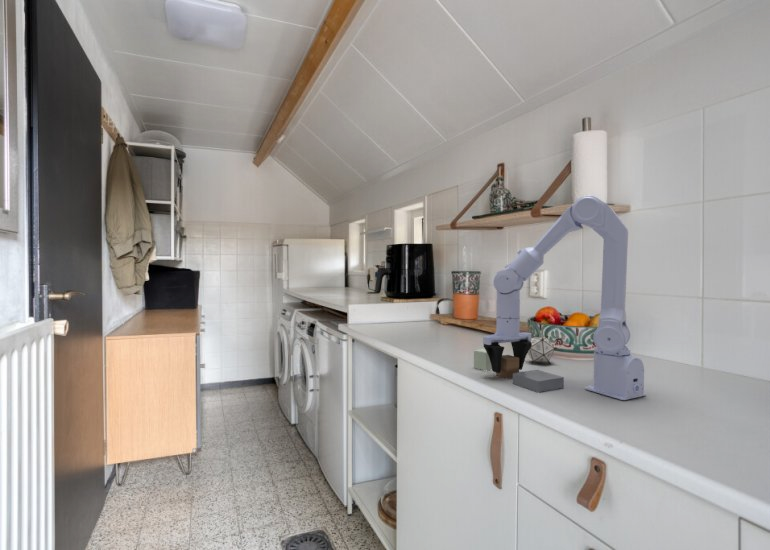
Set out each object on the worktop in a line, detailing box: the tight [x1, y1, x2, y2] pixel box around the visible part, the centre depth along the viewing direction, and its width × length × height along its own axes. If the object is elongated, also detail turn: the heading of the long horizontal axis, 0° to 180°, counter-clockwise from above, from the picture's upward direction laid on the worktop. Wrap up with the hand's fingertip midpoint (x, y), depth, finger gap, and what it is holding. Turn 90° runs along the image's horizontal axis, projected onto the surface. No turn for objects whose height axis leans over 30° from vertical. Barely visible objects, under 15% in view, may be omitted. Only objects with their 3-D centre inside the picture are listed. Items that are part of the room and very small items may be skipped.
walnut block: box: [495, 354, 520, 379], centre depth 109 cm, size 4×4×5 cm
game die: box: [527, 335, 558, 365], centre depth 124 cm, size 9×8×10 cm
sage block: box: [473, 348, 492, 372], centre depth 117 cm, size 4×4×5 cm
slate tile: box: [512, 369, 565, 393], centre depth 100 cm, size 8×8×2 cm
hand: (507, 370), depth 109 cm, fingers open, 7 cm apart
